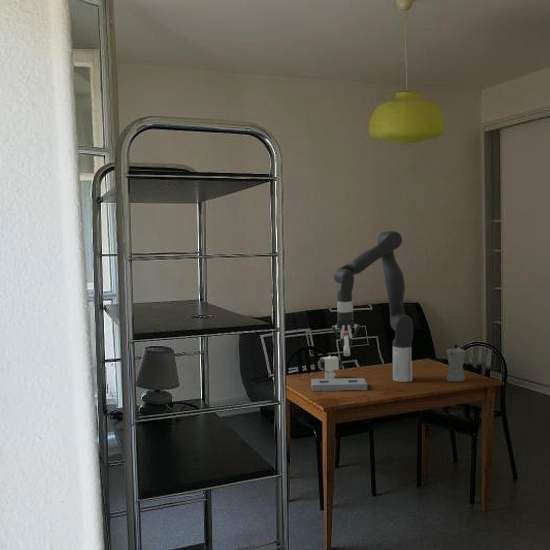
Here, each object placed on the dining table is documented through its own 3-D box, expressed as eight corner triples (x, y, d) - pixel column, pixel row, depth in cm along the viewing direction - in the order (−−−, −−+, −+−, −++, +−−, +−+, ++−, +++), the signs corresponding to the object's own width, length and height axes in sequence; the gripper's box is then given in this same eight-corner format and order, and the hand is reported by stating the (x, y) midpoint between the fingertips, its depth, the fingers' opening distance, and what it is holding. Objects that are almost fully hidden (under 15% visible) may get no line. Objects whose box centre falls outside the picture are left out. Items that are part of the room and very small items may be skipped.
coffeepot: (461, 384, 304) (461, 347, 302) (442, 381, 309) (442, 345, 308) (470, 377, 317) (470, 342, 315) (451, 375, 322) (452, 340, 320)
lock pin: (350, 354, 303) (349, 329, 302) (351, 356, 299) (350, 330, 298) (342, 354, 303) (341, 329, 302) (343, 356, 299) (342, 330, 298)
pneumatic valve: (342, 378, 320) (342, 355, 319) (321, 380, 316) (320, 357, 316) (338, 376, 325) (337, 353, 324) (317, 378, 322) (316, 355, 321)
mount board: (364, 384, 308) (364, 378, 307) (367, 390, 296) (367, 384, 295) (311, 384, 308) (311, 378, 308) (312, 391, 296) (312, 385, 296)
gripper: (358, 308, 303) (360, 344, 304) (329, 310, 303) (331, 345, 304) (360, 311, 295) (362, 347, 297) (331, 312, 296) (332, 348, 297)
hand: (346, 345), depth 300 cm, fingers closed on lock pin, 3 cm apart
